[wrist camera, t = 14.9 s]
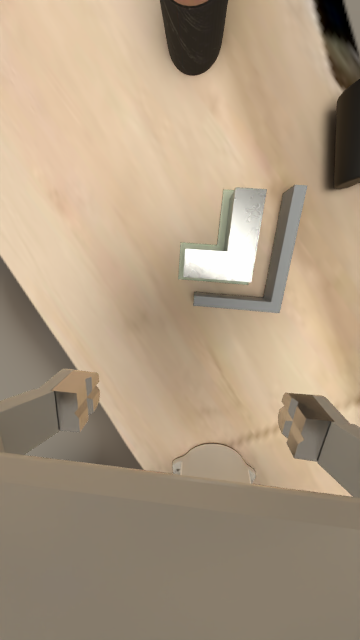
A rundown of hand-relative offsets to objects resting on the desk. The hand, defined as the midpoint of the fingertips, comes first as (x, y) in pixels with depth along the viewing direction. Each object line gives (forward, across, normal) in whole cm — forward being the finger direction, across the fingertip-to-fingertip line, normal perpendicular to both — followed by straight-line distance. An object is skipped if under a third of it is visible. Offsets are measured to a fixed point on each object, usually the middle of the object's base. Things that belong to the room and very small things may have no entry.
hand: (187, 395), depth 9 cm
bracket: (+29, -3, -9) cm, 30 cm away
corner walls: (+29, -7, -7) cm, 31 cm away
